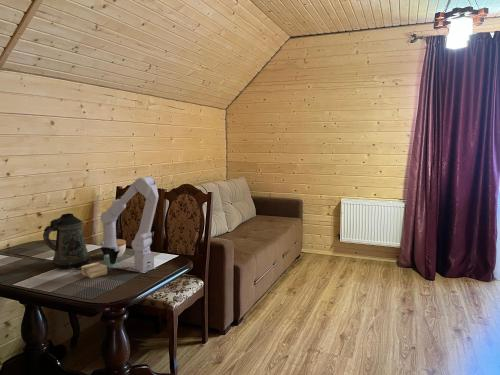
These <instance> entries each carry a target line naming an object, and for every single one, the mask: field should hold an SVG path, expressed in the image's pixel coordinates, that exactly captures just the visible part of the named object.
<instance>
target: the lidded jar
mask: <svg viewBox="0 0 500 375" xmlns="http://www.w3.org/2000/svg"><path fill="white" fill-rule="evenodd" d="M116 244H117V245H118V246H119V249H120V251H119V253H118V255H117V259H118V258H120V257H121V258H122V256H123V254H124V253H126V248H127V247H126V246H127V240H125V239H121V238H116Z"/></svg>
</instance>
